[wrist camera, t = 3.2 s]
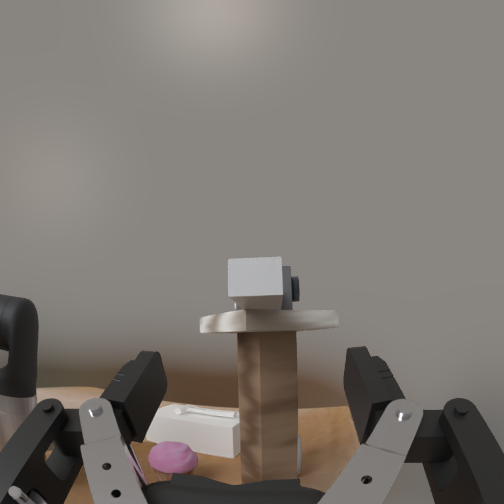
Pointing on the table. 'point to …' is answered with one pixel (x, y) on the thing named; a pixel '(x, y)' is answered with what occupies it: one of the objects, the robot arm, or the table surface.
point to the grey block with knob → (261, 284)
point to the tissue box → (197, 429)
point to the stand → (268, 384)
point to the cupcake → (172, 459)
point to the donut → (299, 455)
